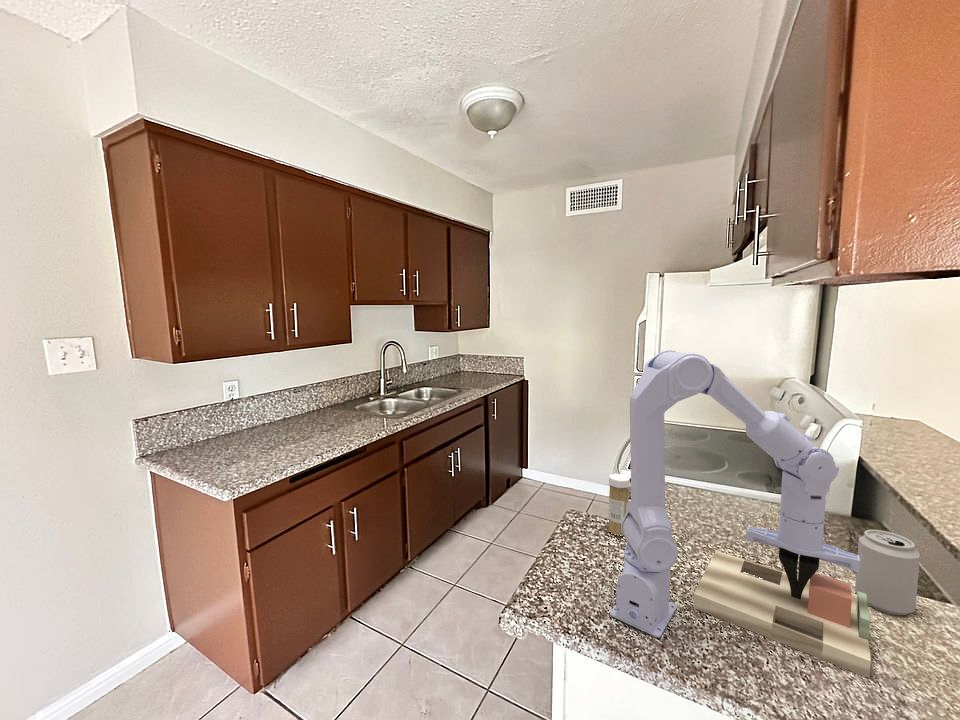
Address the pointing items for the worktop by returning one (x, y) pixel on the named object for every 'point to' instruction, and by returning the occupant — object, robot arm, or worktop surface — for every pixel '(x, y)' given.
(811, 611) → the block
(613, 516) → the sprinkles bottle
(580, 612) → the worktop surface
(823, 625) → the board
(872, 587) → the can
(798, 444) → the robot arm
